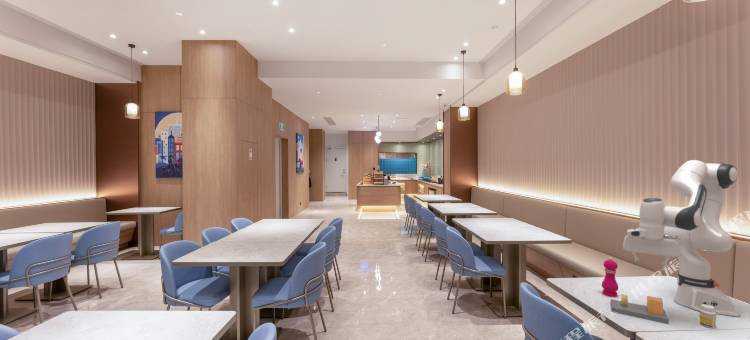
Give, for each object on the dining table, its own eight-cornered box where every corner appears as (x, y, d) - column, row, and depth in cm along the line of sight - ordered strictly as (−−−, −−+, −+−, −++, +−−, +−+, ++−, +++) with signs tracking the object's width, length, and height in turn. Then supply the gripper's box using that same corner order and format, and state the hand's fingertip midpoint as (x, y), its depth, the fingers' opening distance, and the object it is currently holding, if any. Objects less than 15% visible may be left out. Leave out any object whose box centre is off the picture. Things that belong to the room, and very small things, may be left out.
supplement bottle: (707, 323, 141) (707, 303, 141) (718, 328, 137) (719, 308, 137) (696, 323, 141) (696, 303, 141) (707, 328, 137) (708, 308, 137)
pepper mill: (621, 298, 168) (622, 259, 167) (605, 296, 169) (606, 258, 169) (613, 292, 175) (614, 255, 174) (598, 291, 176) (599, 255, 176)
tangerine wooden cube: (660, 311, 148) (661, 298, 148) (662, 315, 144) (663, 302, 144) (646, 308, 151) (647, 295, 151) (648, 312, 146) (648, 299, 146)
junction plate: (663, 313, 150) (664, 298, 150) (668, 324, 140) (669, 307, 140) (610, 302, 161) (610, 289, 161) (611, 311, 151) (611, 296, 151)
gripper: (680, 235, 145) (679, 266, 146) (623, 229, 157) (622, 257, 157) (683, 237, 140) (682, 269, 140) (624, 231, 152) (622, 260, 152)
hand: (650, 263), depth 149 cm, fingers open, 8 cm apart
